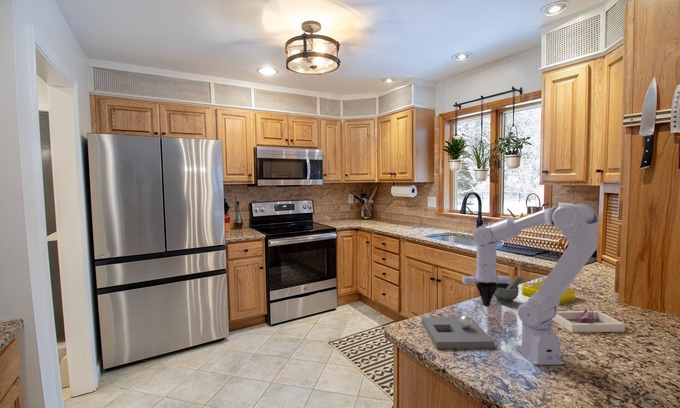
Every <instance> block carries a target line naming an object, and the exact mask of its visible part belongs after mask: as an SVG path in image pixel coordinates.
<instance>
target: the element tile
mask: <svg viewBox="0 0 680 408" xmlns="http://www.w3.org/2000/svg"><path fill="white" fill-rule="evenodd" d="M544 281H545V280H544ZM544 281H543V280H541V281H536V282H531V283H526V284H523V285H521V295H522V296H525V297H528V298H530V297H531V296H532V295H534V294H535V293H536V292H537V291H538V290H539V288H540V287H541V285H542V284H543V282H544ZM575 300H576V289H574V288H570V287H568V288H567V289H566V291H565V292H564V294H563V295H562V296H561V298H560V299H559V301H560V304H559V305H563V304H564V303H565V304H566V303H570V302H572V301H575Z"/></svg>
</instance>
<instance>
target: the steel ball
mask: <svg viewBox="0 0 680 408" xmlns="http://www.w3.org/2000/svg"><path fill="white" fill-rule="evenodd" d="M459 317H460V319H459V324H460V326H461V327H463V328H465V329H468V328H470V327H471V326H472V320H471V318H472V317H471V316H469V315H462V316H459ZM470 317H471V318H470Z"/></svg>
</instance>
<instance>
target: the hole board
mask: <svg viewBox="0 0 680 408" xmlns="http://www.w3.org/2000/svg"><path fill="white" fill-rule="evenodd" d="M460 317H461V316H429V317H428V316H427V317H425V316H422V317H421V324H422V327H423V329H424V330H425V331H426V332H427V335H428V337H429V338H430V340H431V342H432V344H433V345H434V347H435V348H436V349H494V348H495V340H494V339H492V337H491V336H490V335H489V334H488V333H487V332H486V331H484V329H483V328H482V327H481V326H480V325H479V324H478V323H477V322H476V321H475V320H474V319H473V318H472V317H471V316H469V317H470V318H471V320H472V326H471V327H470V328H468V329H465V328H463V327H461V326H460V324H459V319H460ZM439 331H440V332H439ZM443 331H444V332H443ZM445 331H446V332H445ZM447 331H448V332H447ZM449 331H450V332H449Z"/></svg>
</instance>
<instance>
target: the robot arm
mask: <svg viewBox="0 0 680 408" xmlns="http://www.w3.org/2000/svg"><path fill="white" fill-rule="evenodd" d="M599 223H600V218H599V216H598V214H597V213H596V210H595V209H594V208H593V207H592V206H591V205H588V204H586V203H576V204H562V205H560V206H556V207H555V206H554V207H549V208H545V209H542V210H539V211H537V212H534V213H532V214H531V213H530V214H529V215H525V216H524V217H520V218H517V219H515V218H513V217H508V216H505V217H501V219H500V220H499V221H496V222H488V223H487V226H486V225H485V226H482V225H481V226H478V227H477V228H475V229H474V230H473V232H472V238H473V240H474V242H475V244H476V275H468V276H462V284H464V285H468V284H469V285H470V284H472V285H473V284H475V286H476V288H477V290H478V293H479V295H480V298H481V301H482V306H484V307H490V306H491V301H492V299H493V296H495V295H494V293H495V291H496V290H497V288H498V286H497V285H496V283H507V284H510V283H511V277H510V276H507V275H497V247H498V243H499V242H502V241H506V240H508V239H512V238H515V237H518V236H520V234H521V231H522V230H526V229H529V228H530V229H531V228H534V227H537V226H541V225H545V224H546V225H549V226H555V227H556V228H557V229H558V230H559V231H560V232H561V233H562V235H563V236H564V237H565V238H566V240H567V241H566V242H567V243H568V246H567V248H566V249H565V251H564V252H563V253H562V255H561V256H560V258H559V259H558V261H557V262H556V264H555V265H554V266H553V268H552V269H551V271H550V272H549V274H548V275H547V277H546V278H545V280H544V282H543V284H542V285H541V287H540V288H539V290H538V291H537V292H536V293H535V294H534V295H532V296H531V297H528V299H527V301H526V302H523V303H521V304H520V305H519V306H518V307H517V316H518V318H519V319H520V321H521V322H522V323H521V327H522V328H521V329H522V331H521V345H515V349H516V350H517V351H519V353H521V354H522V355H523V356H524V357H525V358H526V359H527V360H528V361H529V362H530V363H532V364H533V365H534V366H541V365H543V366H545V365H547V366H549V365H550V366H551V365H552V366H553V365H562V366H563V365H564V362H563V360H561V339H560V338H559V336H558V335H557V334H555V332H554V329H553V320H552V318H554V317H555V316H556V314H557V311H558V306H559V305H561V304H560V301H559V299H560V298H561V296H562V295H563V294H564V292H565V291H566V289H567V288H570V285H571V284H572V283H573V282H574V280H575V279H576V277H577V276H578V275H579V273H580V272H581V270H582V269H583V268H584V267H585V265H586V264H587V263H588V261H589V259H591V257H592V256H593V254H594V253H595V251H597V248H598V247H599V246H598V245H599V240H598V239H599V237H598V235H599V232H598V231H599V230H598V227H599Z"/></svg>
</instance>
